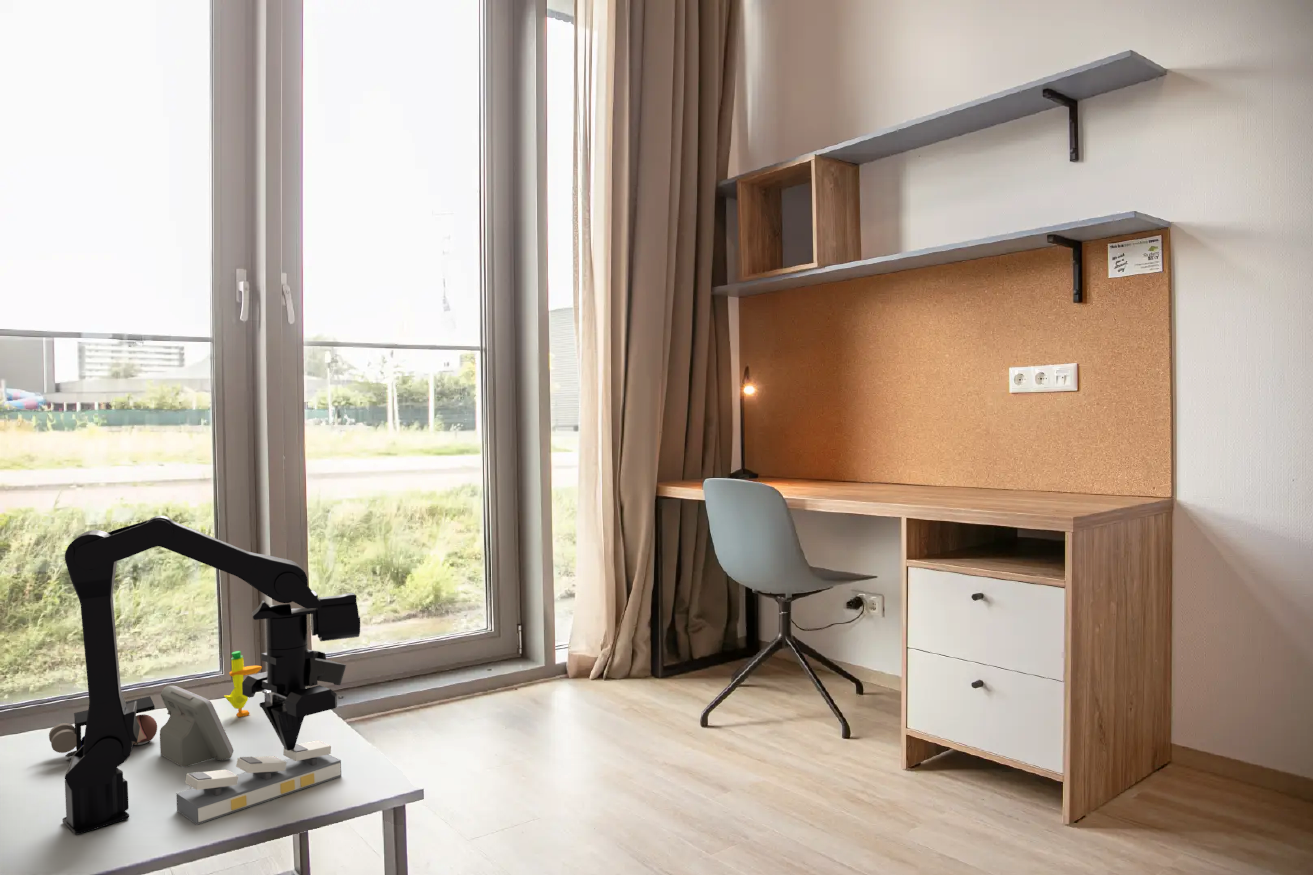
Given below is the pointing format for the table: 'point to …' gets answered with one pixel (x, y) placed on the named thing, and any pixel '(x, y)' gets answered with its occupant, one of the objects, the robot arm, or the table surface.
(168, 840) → the table surface
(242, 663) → the toy figure
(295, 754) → the rocker far
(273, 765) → the rocker middle
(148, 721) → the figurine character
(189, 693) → the digital clock
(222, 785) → the rocker near
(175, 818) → the table surface
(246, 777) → the switch unit
